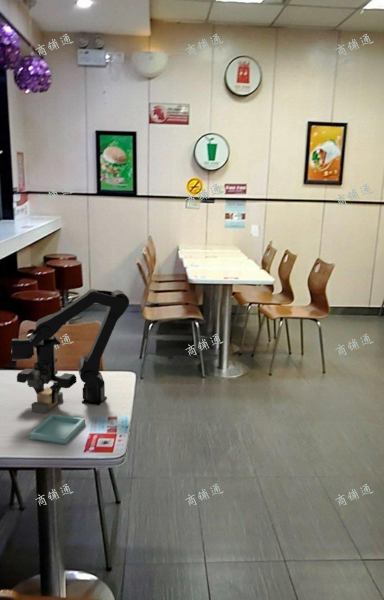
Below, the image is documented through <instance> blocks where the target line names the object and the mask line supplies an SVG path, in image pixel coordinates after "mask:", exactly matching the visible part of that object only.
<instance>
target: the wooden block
mask: <svg viewBox="0 0 384 600" xmlns="http://www.w3.org/2000/svg"><path fill="white" fill-rule="evenodd" d="M36 402H40V403H47V404H49V410H51V408H53V407H54V406H56V405H57V404H58V396H57V399H56V401H55V403H54V404H52V390H51V388H50V386H49V387H48V386H46V387H44V389H43V390H42V391H40V392H39V393H38V394H36Z"/></svg>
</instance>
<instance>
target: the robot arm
mask: <svg viewBox="0 0 384 600" xmlns="http://www.w3.org/2000/svg"><path fill="white" fill-rule="evenodd" d="M94 304H96V305H97V304H98V305H103V306H105V307H106V311H105V315H104V318H103V320H102V322H101V325H100V327H99V330H98V331H97V334H96V336H95V338H94V341H93V343H92V346H91V348H90V350H89V352H88V353H87V354H86V355H84V354H82V355H81V356H80V361H79V362H78V363H77V371H78V374H79V378H80V380H81V382H83V386H82V401H81V403H82V404H86V405H93V406H101V404H103V402H104V401H106V400H107V397H108V396H105V395H106V393H105V391H106V389H105V384H106V382H105V379H104V378H103V375H102V372H101V371H100V367H101V359H102V357H103V354H104V352H105V350H106V347H107V345H108V343H109V341H110V339H111V335H112V334H113V331H114V329H115V327H116V324H117V322H118V321H119V319H120V318H121V317H122V316H124V314H125V313H126V311H127V309H128V307H129V306H130V299H129V296H127V295H126V293H124V291H122V290H119V289H115V290H113V291H112V290H111V291H110V290H103V289H102V290H99V289H95V288H91V289H89V290H87V291H86V292H85V293H84V294H83V295H81V296H79V297H78V298H77V299H75V300H74V301H72V302H71V303H69V304H67V305H66V306H64V307H63V308H62V309H60V310H58V311H56V312H54V313H51V314H48V315H46V316H43V317H42V318H39V319H37V321H36V322H35V325H34V330H33V331H32V332H31V334H30V335H29V337H28V338H12V339H11V351H10V352H11V361H23V360H25V361H26V360H31V359H32V358H33V356H34V357H35V354H36V357H35V358H36V361H35V362H34V365H33V368H25V369H23V370H21V371H20V372H18V373H17V375H16V382H17V383H23V384H25V383H27V384H26V385H27V386H28V387H29V388H33V390H34V392H35V393H36V395H37V394H38V393H39V392H40V391H42V390H43V389H45V384H46V385H49V383H50V382H52V383H53V384H52V385H51V386H49V388H51V390H52V404H54V403H55V401H56V399H57V396H58V394H59V392H61V389H70V388H71V387H72V386H74V385H75V384H76V383H77V382H78V381H77V376H76V374H75V373H67V372H65V373H63V374H61V375H57V374H58V370H57V369H56V363H57V362H58V358H56V354H55V353H56V350H55V347H56V346H59V345H61V339H60V338H58V337H57V336H56V335H55V334H56V333H58V332H59V331H60V330H61V328H63V326H64V325H65V324H66V323H67V322H69V321H70V320H72V319H73V318H75V317H76V316H78V315H79V314H81V313H82V312H84V311H85V310H87V309H88V308H90V307H91V306H93V305H94ZM34 347H35V348H34Z"/></svg>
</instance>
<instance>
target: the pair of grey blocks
mask: <svg viewBox="0 0 384 600" xmlns="http://www.w3.org/2000/svg"><path fill="white" fill-rule="evenodd" d="M63 393H64V392H61V391H59V394H58V402H59V403H60V402H62V401H63V400H64V397H63V396H64V395H63ZM30 405H31V406H30V407H31V412H32V413H39V414H47V413H48V412H49V411H50V409H49V404H47V403H40V402H37V401H33V402H32V404H30Z"/></svg>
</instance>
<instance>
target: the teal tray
mask: <svg viewBox="0 0 384 600" xmlns="http://www.w3.org/2000/svg"><path fill="white" fill-rule="evenodd" d="M85 425H86V418H83V417H78V416H71V415H63V414H56V413H52V414H50V415H49V416H48V417H47V418H46V419H44V421H43V422H41V423H40V424H39V425H37V427H35V428H34V429H32V431H30V432H29V440H32V441H38V442H45V443H51V444H55V445H56V444H57V445H64V446H66V444H67V443H68V442H69V441H70V440H71V439H72V438H73V437H75V435H76V434H77V433H78V432H79V431H80V430H81V429H82V428H83V427H84V426H85Z"/></svg>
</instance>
